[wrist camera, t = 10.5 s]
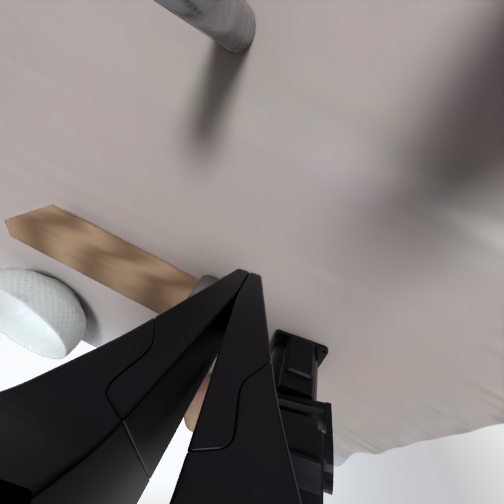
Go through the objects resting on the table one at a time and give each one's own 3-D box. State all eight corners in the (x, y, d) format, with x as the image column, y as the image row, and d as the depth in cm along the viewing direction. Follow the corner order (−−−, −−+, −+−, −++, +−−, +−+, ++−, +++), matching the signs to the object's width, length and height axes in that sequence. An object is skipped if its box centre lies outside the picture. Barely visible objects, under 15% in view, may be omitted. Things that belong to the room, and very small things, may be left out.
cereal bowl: (78, 333, 45) (42, 365, 39) (8, 272, 40) (-46, 298, 34) (120, 318, 37) (82, 356, 31) (38, 238, 31) (-26, 266, 26)
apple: (197, 379, 40) (173, 430, 34) (203, 359, 36) (175, 413, 29) (236, 398, 40) (219, 453, 33) (247, 380, 35) (229, 439, 29)
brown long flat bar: (226, 283, 24) (201, 324, 20) (219, 299, 26) (194, 341, 21) (60, 197, 25) (-4, 217, 20) (64, 219, 27) (6, 242, 22)
